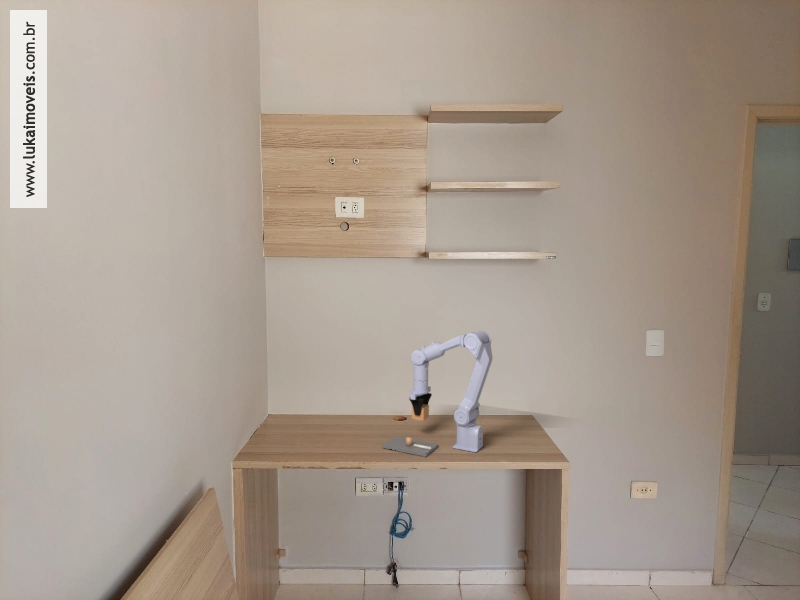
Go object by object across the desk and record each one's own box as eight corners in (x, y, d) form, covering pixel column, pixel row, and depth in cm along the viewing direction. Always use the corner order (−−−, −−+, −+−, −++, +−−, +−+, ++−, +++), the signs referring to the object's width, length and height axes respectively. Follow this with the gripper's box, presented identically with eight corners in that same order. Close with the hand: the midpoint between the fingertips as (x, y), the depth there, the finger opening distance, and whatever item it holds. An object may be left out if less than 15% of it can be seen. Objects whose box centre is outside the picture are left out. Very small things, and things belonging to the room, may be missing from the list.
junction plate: (438, 446, 193) (438, 436, 193) (425, 456, 183) (426, 445, 183) (395, 438, 201) (395, 428, 201) (381, 447, 192) (381, 437, 191)
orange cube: (428, 417, 205) (428, 405, 205) (423, 420, 201) (423, 408, 200) (417, 415, 208) (417, 403, 207) (412, 418, 203) (412, 406, 203)
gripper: (419, 374, 211) (419, 407, 212) (403, 382, 198) (403, 416, 199) (435, 376, 208) (435, 409, 209) (419, 384, 195) (419, 419, 196)
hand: (420, 413), depth 204 cm, fingers closed on orange cube, 5 cm apart
